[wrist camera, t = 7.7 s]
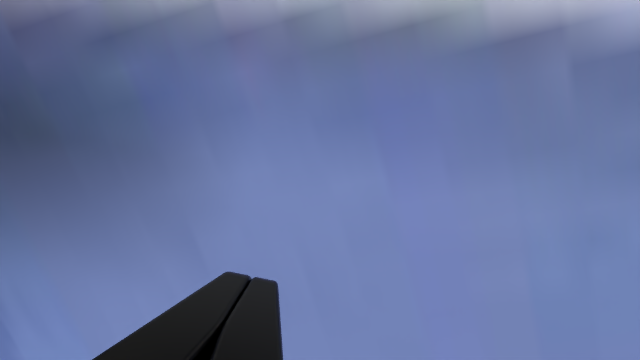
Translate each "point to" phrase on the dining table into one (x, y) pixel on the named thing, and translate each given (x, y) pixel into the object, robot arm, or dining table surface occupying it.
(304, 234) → the dining table surface
